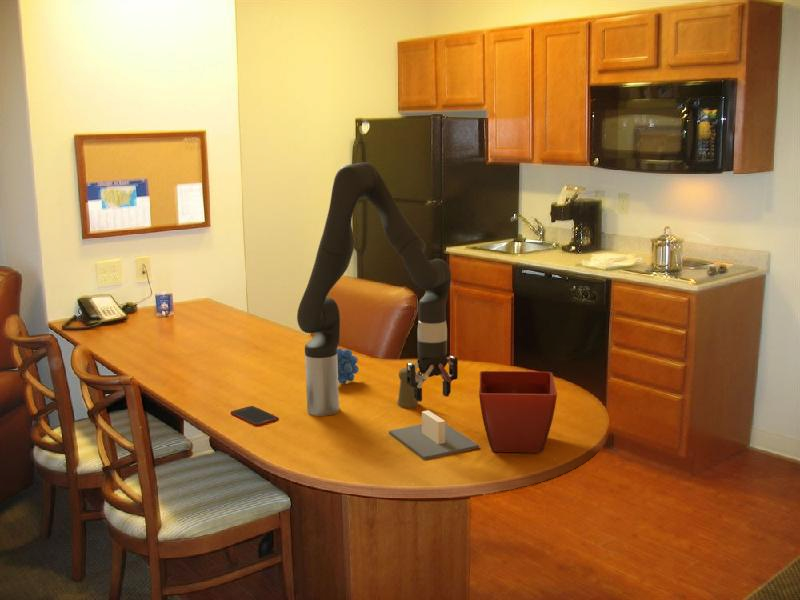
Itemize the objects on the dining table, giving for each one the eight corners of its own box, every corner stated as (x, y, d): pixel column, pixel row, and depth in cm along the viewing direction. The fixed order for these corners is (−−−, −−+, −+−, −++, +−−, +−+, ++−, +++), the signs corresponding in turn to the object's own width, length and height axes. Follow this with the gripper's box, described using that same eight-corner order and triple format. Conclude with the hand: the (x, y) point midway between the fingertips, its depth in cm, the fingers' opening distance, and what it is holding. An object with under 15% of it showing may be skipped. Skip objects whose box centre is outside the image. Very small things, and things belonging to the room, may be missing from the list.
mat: (388, 433, 231) (388, 430, 231) (440, 423, 238) (440, 420, 237) (423, 459, 213) (423, 456, 213) (478, 447, 220) (478, 445, 220)
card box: (421, 432, 229) (421, 411, 227) (428, 431, 230) (428, 410, 228) (438, 444, 221) (438, 422, 219) (445, 442, 222) (445, 420, 220)
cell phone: (252, 408, 253) (252, 405, 252) (280, 421, 242) (280, 418, 242) (229, 414, 248) (229, 411, 247) (257, 428, 237) (256, 424, 237)
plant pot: (479, 429, 233) (479, 369, 229) (550, 430, 231) (552, 371, 227) (478, 457, 214) (478, 393, 211) (555, 459, 213) (557, 394, 209)
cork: (394, 406, 251) (394, 370, 249) (401, 400, 257) (401, 364, 254) (414, 408, 249) (413, 372, 247) (420, 402, 255) (420, 366, 252)
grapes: (335, 391, 266) (334, 354, 263) (323, 385, 271) (322, 349, 268) (366, 383, 273) (365, 347, 270) (354, 378, 278) (353, 342, 275)
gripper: (449, 330, 226) (449, 389, 229) (400, 337, 219) (401, 398, 223) (463, 337, 219) (463, 398, 223) (414, 344, 213) (414, 407, 217)
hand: (432, 398), depth 223 cm, fingers open, 7 cm apart
